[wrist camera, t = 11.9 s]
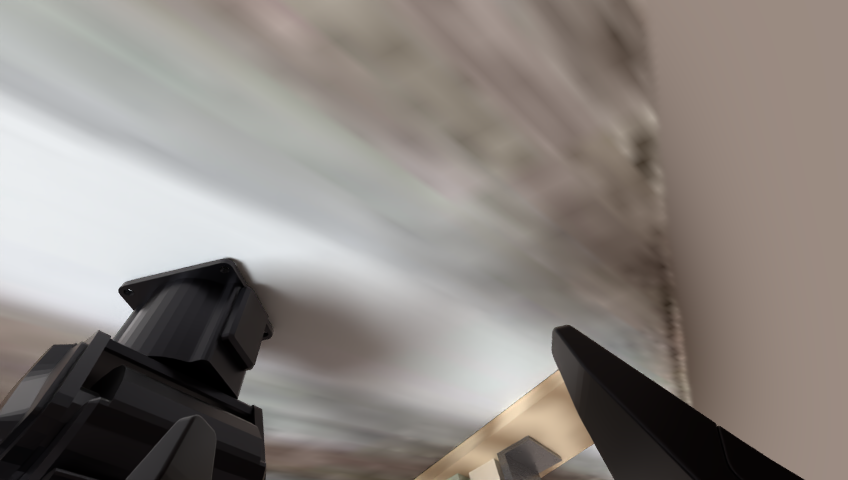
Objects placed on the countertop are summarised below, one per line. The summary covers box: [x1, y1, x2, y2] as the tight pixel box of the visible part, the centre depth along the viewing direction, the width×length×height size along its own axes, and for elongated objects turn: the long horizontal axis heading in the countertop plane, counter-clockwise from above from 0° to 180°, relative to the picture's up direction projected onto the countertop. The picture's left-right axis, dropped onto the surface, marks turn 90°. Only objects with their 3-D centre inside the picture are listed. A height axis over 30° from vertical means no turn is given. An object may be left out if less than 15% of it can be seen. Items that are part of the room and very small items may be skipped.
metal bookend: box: [497, 436, 562, 480], centre depth 36 cm, size 7×4×3 cm, turn 40°
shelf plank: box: [414, 370, 594, 480], centre depth 38 cm, size 23×12×1 cm, turn 139°
